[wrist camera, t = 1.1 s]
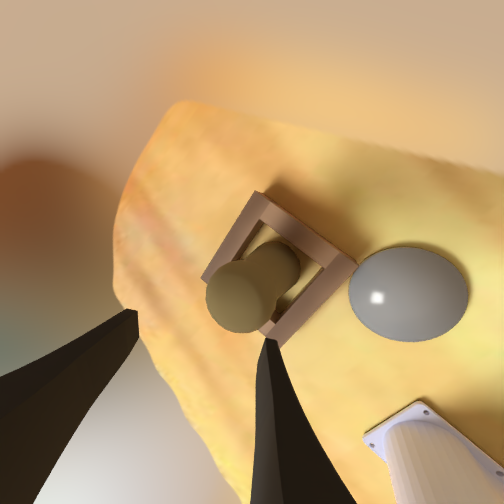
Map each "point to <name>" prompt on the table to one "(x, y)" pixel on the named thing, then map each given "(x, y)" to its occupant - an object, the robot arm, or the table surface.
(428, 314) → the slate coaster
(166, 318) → the table surface
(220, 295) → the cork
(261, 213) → the walnut holder
